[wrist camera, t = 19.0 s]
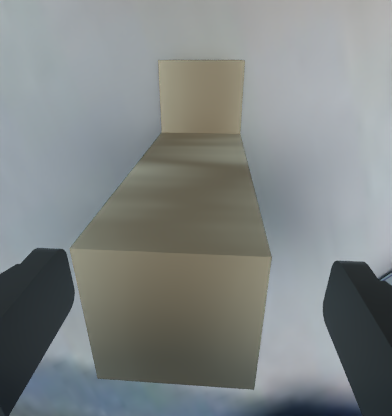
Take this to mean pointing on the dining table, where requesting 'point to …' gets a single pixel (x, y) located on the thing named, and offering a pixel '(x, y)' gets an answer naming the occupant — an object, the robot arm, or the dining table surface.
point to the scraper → (180, 245)
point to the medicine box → (388, 279)
